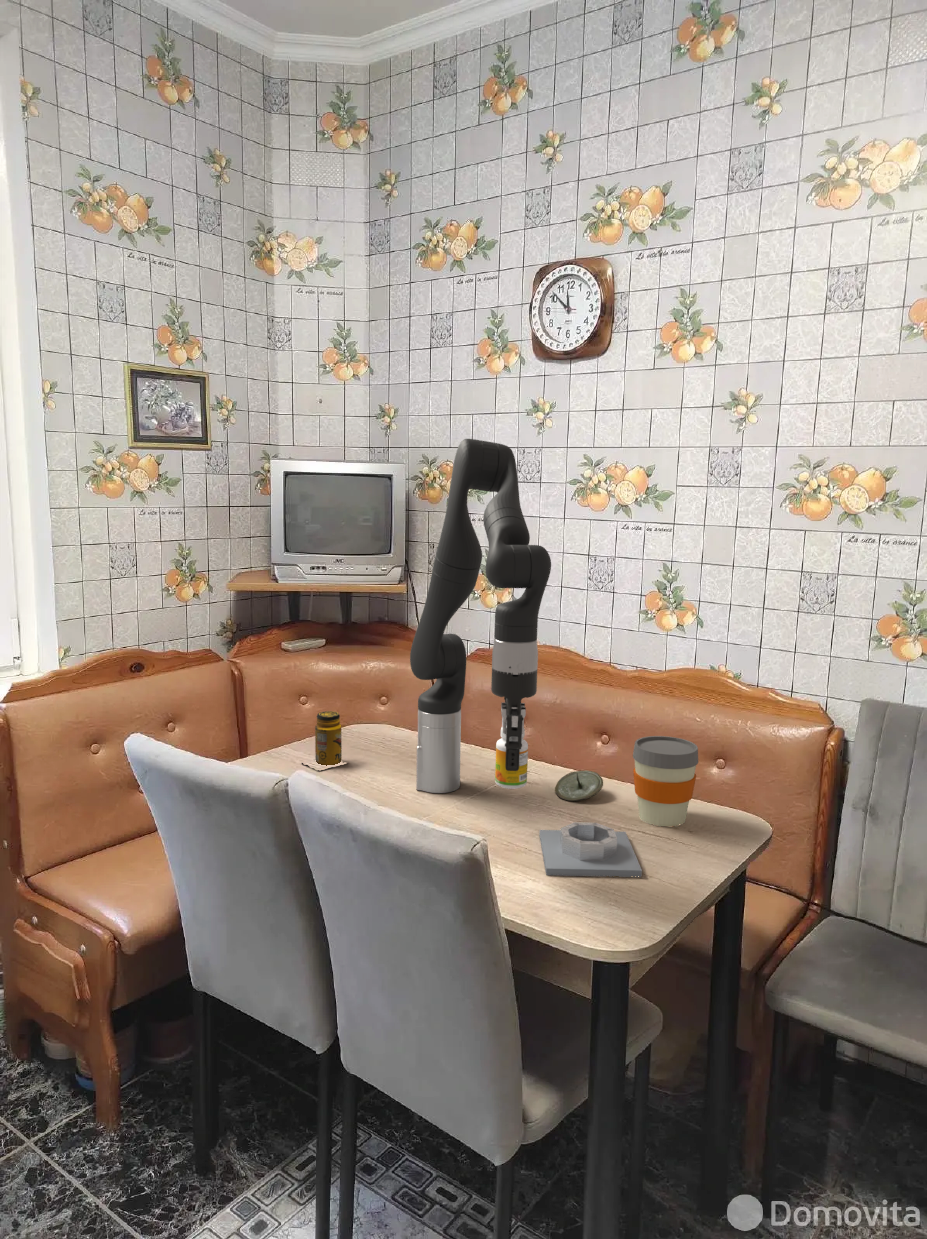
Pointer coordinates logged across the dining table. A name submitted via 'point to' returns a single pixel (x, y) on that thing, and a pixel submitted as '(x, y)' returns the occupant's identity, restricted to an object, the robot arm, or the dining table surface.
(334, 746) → the condiment
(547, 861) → the hub plate
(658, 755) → the reusable coffee cup
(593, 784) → the lid
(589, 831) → the steel collar
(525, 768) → the supplement bottle
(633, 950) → the dining table surface
